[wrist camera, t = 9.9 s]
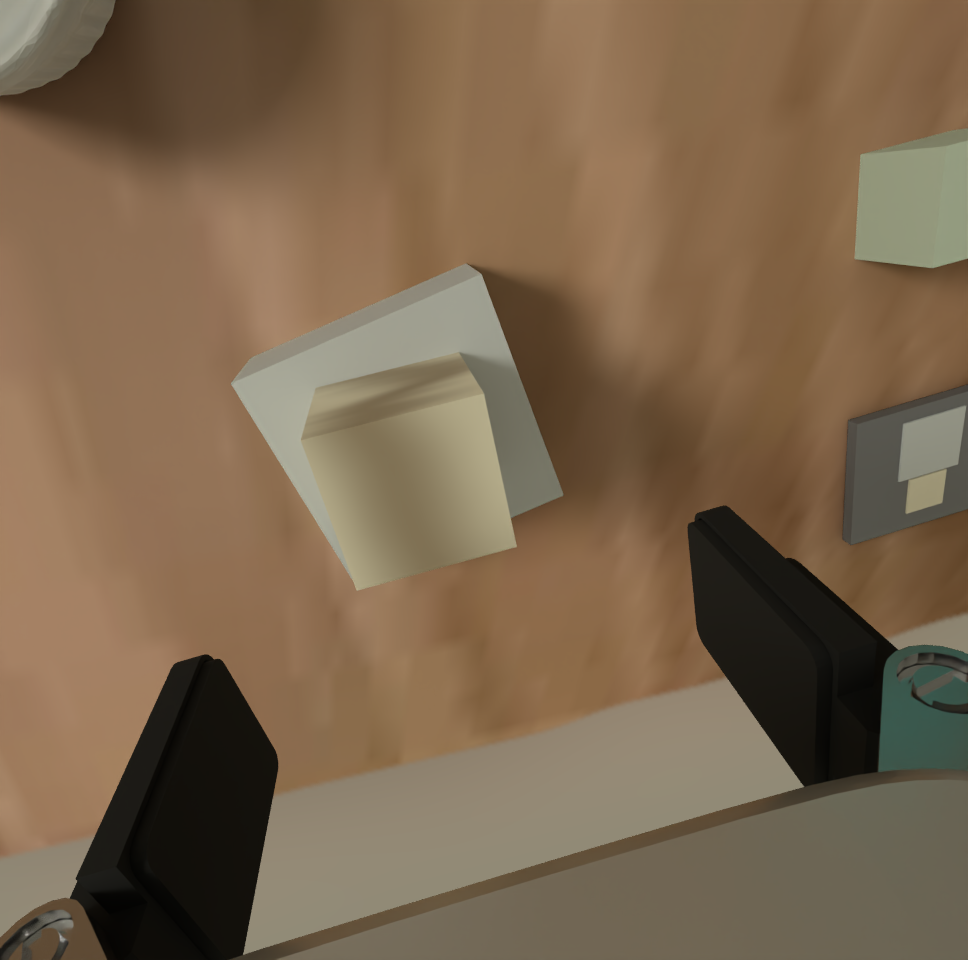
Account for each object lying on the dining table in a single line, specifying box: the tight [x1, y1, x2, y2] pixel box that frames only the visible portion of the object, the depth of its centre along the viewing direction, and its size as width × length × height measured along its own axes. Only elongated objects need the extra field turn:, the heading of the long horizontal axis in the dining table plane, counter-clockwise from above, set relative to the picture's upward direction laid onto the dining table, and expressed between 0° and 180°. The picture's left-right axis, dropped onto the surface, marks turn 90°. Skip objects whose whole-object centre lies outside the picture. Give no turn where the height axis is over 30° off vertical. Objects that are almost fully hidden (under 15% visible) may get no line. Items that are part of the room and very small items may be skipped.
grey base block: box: [231, 264, 563, 580], centre depth 23 cm, size 9×9×4 cm
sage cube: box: [855, 128, 968, 268], centre depth 23 cm, size 4×4×4 cm
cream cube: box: [301, 352, 517, 591], centre depth 19 cm, size 5×5×5 cm
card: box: [843, 385, 968, 545], centre depth 30 cm, size 8×7×1 cm
